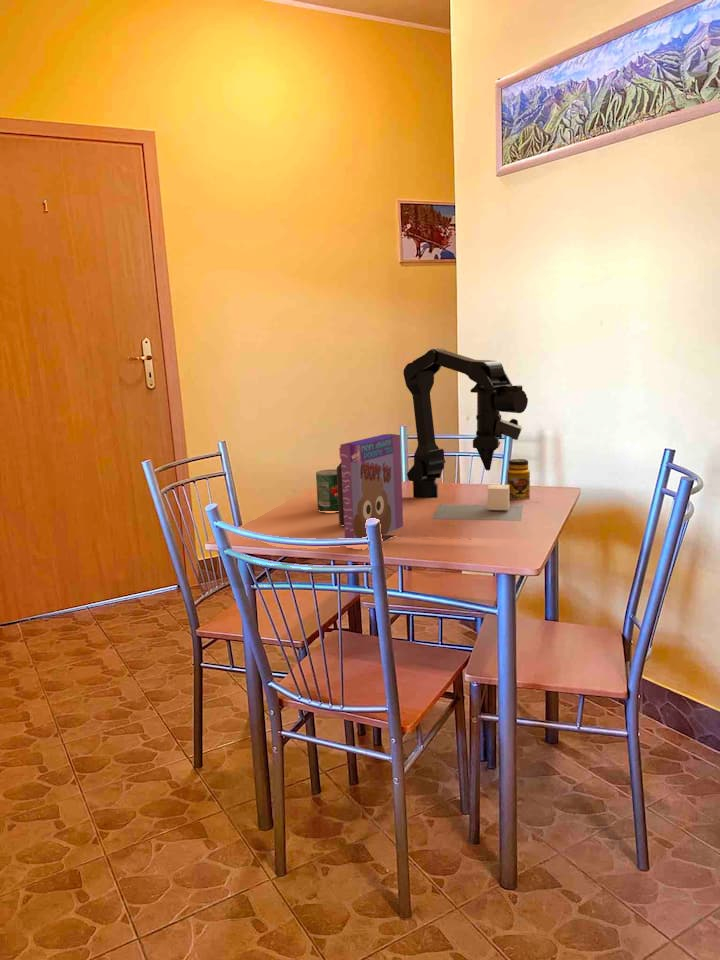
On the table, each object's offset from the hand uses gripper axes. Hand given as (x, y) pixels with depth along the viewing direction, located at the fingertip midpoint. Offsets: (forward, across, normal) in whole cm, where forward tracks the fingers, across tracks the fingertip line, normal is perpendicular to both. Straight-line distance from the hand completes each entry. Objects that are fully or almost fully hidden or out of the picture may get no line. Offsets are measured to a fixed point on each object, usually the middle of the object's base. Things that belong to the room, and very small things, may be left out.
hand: (487, 470), depth 186 cm
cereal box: (+12, -28, +24) cm, 39 cm away
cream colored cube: (+9, -2, -3) cm, 10 cm away
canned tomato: (+12, 0, +43) cm, 45 cm away
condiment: (+12, +14, -7) cm, 19 cm away
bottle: (+12, -15, +33) cm, 38 cm away
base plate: (+12, -5, +2) cm, 13 cm away
